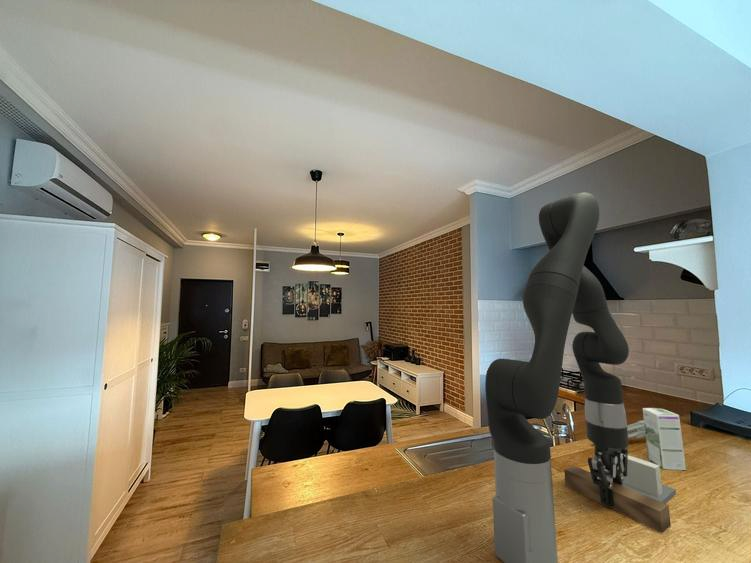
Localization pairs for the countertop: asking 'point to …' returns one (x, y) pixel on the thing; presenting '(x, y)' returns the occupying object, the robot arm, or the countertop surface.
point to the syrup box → (664, 438)
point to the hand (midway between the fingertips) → (612, 500)
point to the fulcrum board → (646, 480)
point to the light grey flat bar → (636, 430)
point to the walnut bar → (622, 499)
